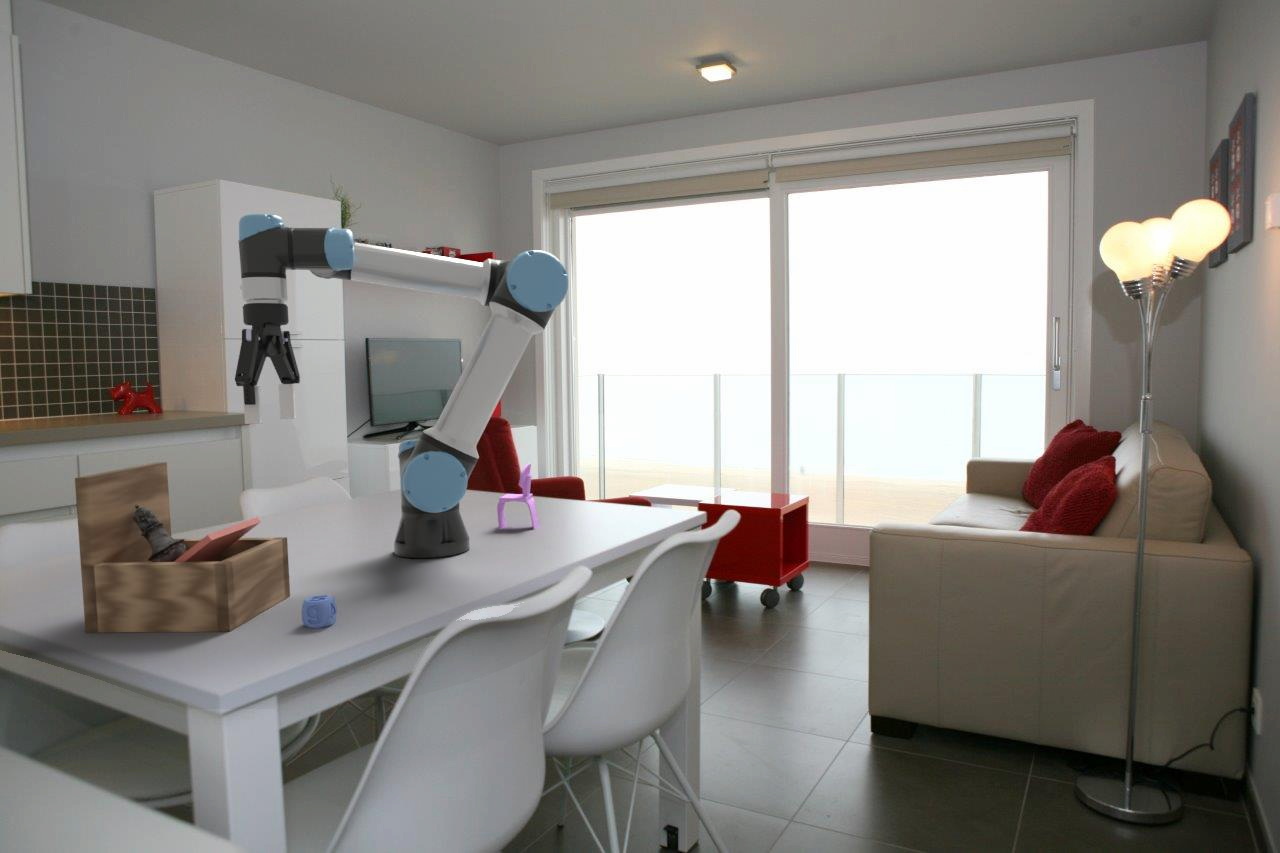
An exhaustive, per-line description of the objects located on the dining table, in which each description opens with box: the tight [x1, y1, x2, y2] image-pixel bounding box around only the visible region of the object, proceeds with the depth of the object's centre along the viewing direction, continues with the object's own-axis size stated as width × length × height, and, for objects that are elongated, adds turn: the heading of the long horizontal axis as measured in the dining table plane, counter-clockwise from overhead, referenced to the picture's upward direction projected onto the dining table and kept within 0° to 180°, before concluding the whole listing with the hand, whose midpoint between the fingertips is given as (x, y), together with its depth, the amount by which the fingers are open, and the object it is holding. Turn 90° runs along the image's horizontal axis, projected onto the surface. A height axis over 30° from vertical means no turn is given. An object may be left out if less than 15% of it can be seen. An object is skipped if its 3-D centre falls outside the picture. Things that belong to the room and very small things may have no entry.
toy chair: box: [496, 462, 541, 531], centre depth 213 cm, size 8×9×15 cm
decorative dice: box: [301, 594, 337, 629], centre depth 136 cm, size 4×4×4 cm
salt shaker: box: [133, 505, 186, 562], centre depth 144 cm, size 6×6×12 cm
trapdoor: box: [174, 516, 262, 562], centre depth 143 cm, size 14×15×1 cm
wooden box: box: [74, 461, 291, 633], centre depth 143 cm, size 22×20×23 cm
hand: (271, 421), depth 165 cm, fingers open, 13 cm apart
